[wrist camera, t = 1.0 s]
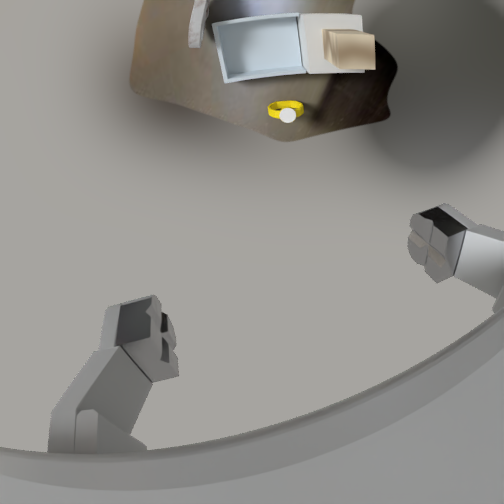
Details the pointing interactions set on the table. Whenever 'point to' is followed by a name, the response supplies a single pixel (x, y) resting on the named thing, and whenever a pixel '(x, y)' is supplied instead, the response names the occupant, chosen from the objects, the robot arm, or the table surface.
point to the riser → (313, 40)
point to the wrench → (198, 22)
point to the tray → (258, 46)
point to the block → (349, 48)
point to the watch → (286, 110)
